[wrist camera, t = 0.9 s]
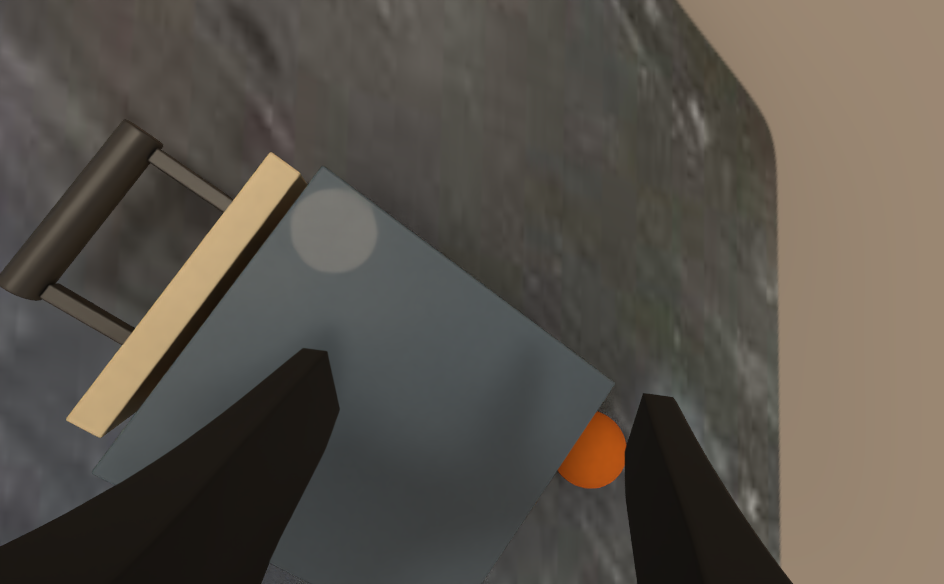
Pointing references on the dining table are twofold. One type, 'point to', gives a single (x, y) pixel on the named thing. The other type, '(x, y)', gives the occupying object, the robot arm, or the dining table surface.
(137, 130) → the drawer
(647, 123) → the dining table surface
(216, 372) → the cabinet
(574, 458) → the ball
